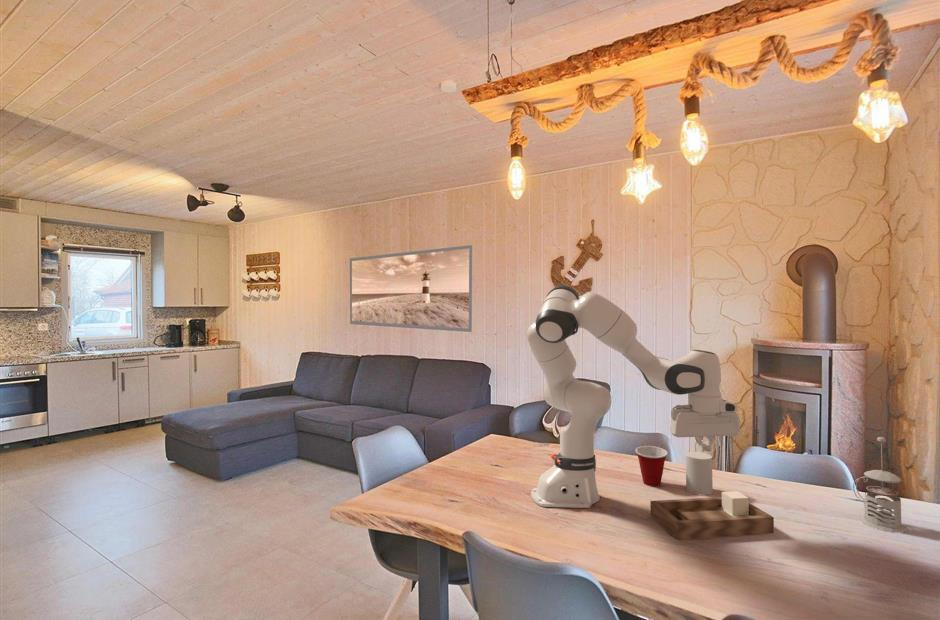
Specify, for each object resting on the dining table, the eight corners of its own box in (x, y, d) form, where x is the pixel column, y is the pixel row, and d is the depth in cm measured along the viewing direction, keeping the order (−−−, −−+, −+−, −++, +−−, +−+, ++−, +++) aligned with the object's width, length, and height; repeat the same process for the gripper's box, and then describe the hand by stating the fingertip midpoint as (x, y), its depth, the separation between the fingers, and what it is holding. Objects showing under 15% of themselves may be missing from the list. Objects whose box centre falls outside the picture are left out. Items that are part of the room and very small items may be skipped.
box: (677, 539, 126) (677, 523, 126) (650, 515, 141) (650, 500, 141) (773, 533, 129) (773, 517, 129) (737, 510, 144) (737, 496, 144)
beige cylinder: (706, 486, 164) (706, 452, 164) (716, 495, 156) (716, 459, 156) (682, 485, 165) (682, 451, 165) (691, 494, 157) (690, 458, 157)
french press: (897, 535, 127) (895, 443, 127) (846, 519, 137) (844, 433, 137) (913, 527, 131) (911, 438, 131) (863, 512, 141) (861, 429, 142)
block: (732, 515, 136) (732, 498, 136) (721, 508, 141) (721, 492, 141) (748, 514, 136) (748, 497, 136) (737, 507, 141) (737, 491, 141)
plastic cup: (635, 487, 164) (634, 453, 164) (636, 476, 174) (635, 444, 174) (668, 491, 160) (668, 456, 160) (667, 480, 170) (667, 447, 170)
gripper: (676, 407, 135) (677, 455, 135) (743, 405, 137) (743, 452, 137) (665, 403, 141) (666, 449, 141) (729, 401, 143) (729, 446, 143)
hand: (704, 450), depth 139 cm, fingers closed
